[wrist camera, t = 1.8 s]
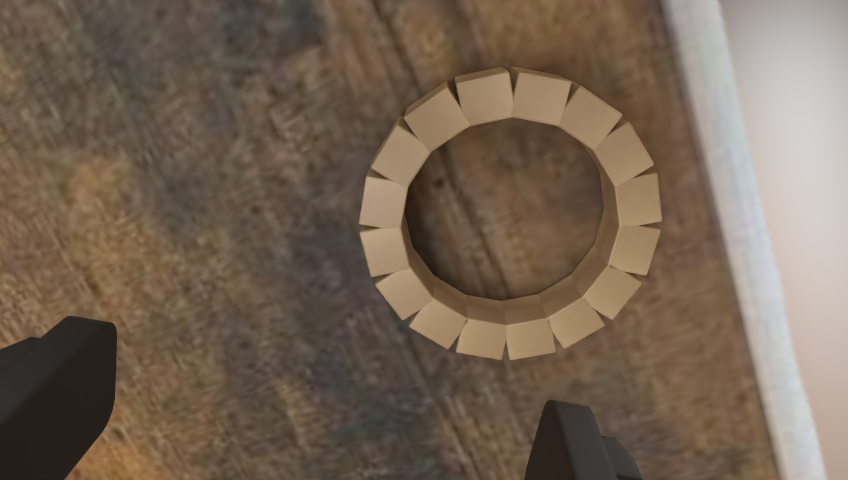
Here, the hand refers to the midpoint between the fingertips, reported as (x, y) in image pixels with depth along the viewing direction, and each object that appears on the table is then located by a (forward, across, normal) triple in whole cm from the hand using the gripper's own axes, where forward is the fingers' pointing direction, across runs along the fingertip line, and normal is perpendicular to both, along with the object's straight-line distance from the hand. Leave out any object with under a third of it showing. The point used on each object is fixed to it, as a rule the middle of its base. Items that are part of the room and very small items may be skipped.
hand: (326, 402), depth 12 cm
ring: (+15, -5, 0) cm, 16 cm away
